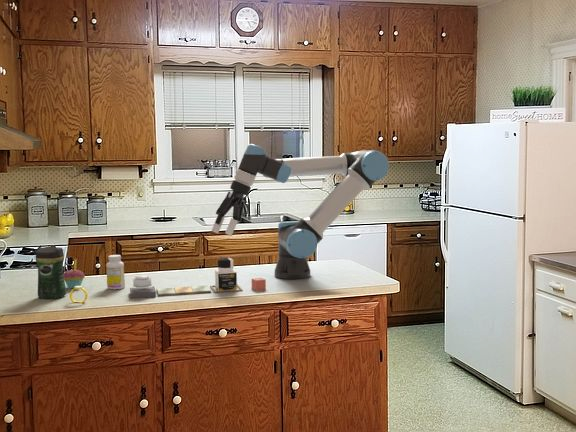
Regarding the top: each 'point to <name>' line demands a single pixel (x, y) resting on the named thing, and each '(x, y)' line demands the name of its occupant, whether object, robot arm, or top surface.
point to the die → (258, 284)
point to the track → (183, 290)
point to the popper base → (142, 292)
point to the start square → (225, 291)
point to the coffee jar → (50, 272)
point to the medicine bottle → (225, 275)
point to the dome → (142, 281)
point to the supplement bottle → (115, 272)
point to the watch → (81, 289)
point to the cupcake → (73, 277)
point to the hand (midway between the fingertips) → (221, 233)
